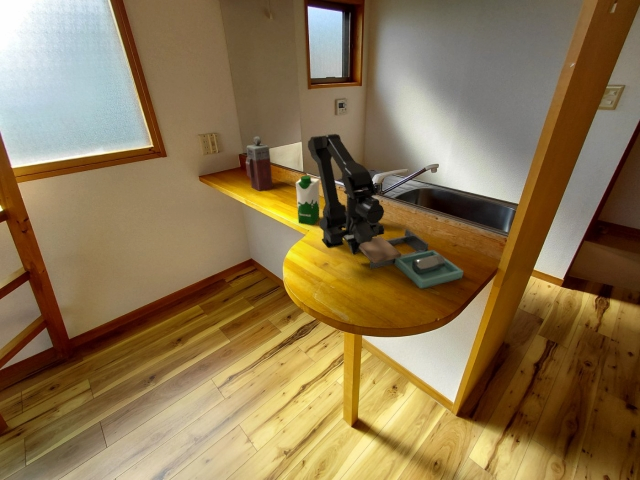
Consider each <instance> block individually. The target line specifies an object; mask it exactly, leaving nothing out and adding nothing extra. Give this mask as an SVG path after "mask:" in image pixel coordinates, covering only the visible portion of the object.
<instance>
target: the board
mask: <svg viewBox="0 0 640 480" xmlns="http://www.w3.org/2000/svg"><path fill="white" fill-rule="evenodd" d="M386 240H387V239H385V238H384V237H383V236H381V235H378V236H377V237H373V238H372V241H371V242H364V243H361V244H360V246H359V248H360V250H361V251H362V253H363V255H365V256H366V257H367V259H368V260H369V261H370V262H371V261H372V262H373V263H377V262H382V261H386V260H391V259H395V258H399V257H401V255H402V252H400V251H399V250H398V249H397V248H395V247H394V245H391V244H390V243H388V242H387V241H386Z"/></svg>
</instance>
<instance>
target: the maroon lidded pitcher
mask: <svg viewBox="0 0 640 480" xmlns="http://www.w3.org/2000/svg"><path fill="white" fill-rule="evenodd" d="M252 139H253V144H250V145H249V144H248V145H247V146H246V155H247V157H245V159H246V160H245V167H246V175H247V177H249V178H250V185H251V188H252V189H253V190H255V191H257V192H264V191H267V190H270V189H271V190H272V189H273V186H274V185H273V176H272V166H271V156H270V155H271V154H270V153H271V152H270V146H269V145H266V144H262V142H261V141H262V140H261V137H260V136H253V138H252Z"/></svg>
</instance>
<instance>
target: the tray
mask: <svg viewBox="0 0 640 480" xmlns="http://www.w3.org/2000/svg"><path fill="white" fill-rule="evenodd" d="M437 254H440V253H438V251H436V250H434V249H431V250H427V251H425V252H421V253H416V254H412V255H408V256H403V257H399V258H395V264H394V265H395V266H396V268H397V269H399V271H401V272H402V273H403V274H405V276H406V277H407V278H408V279H410V280H411V281H412V282H413V283H414V284H415V285H416V286H417V287H419V289H421V290H422V289H427V288H430V287H434V286H439V285H441V284H445V283H450V282H452V281H455V280H460V279H463V275H464V270H463V269H461V268H460V267H458V266H457V265H456V264H454V263H452V261H450V260H449V259H447V258H446V257H444V256H443V258H444V260H445V266H444V267H443V268H440V269H436V270H432V271H428V272H425V273H421V274H416V273H415V272H414V270H413V268H412V262H413V260H416V259H421V258H425V257H429V256H433V255H437Z"/></svg>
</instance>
